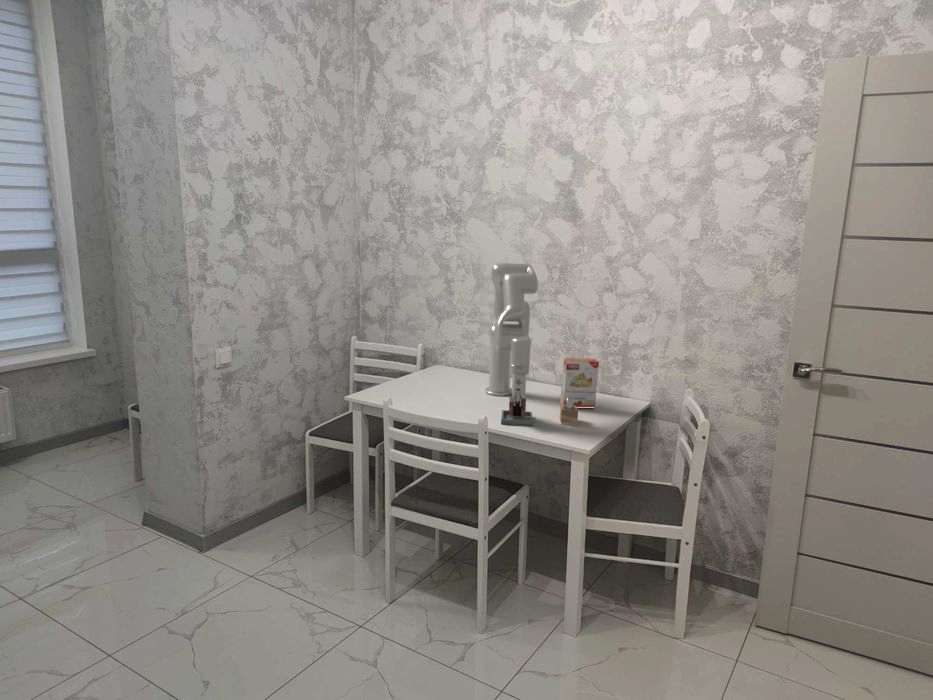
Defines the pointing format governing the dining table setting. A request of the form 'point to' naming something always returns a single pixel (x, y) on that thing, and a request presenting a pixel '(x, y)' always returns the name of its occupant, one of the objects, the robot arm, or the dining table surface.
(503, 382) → the robot arm
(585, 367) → the cracker box
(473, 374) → the dining table surface
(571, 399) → the steel pin
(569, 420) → the oak block
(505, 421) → the tray
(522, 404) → the walnut block
